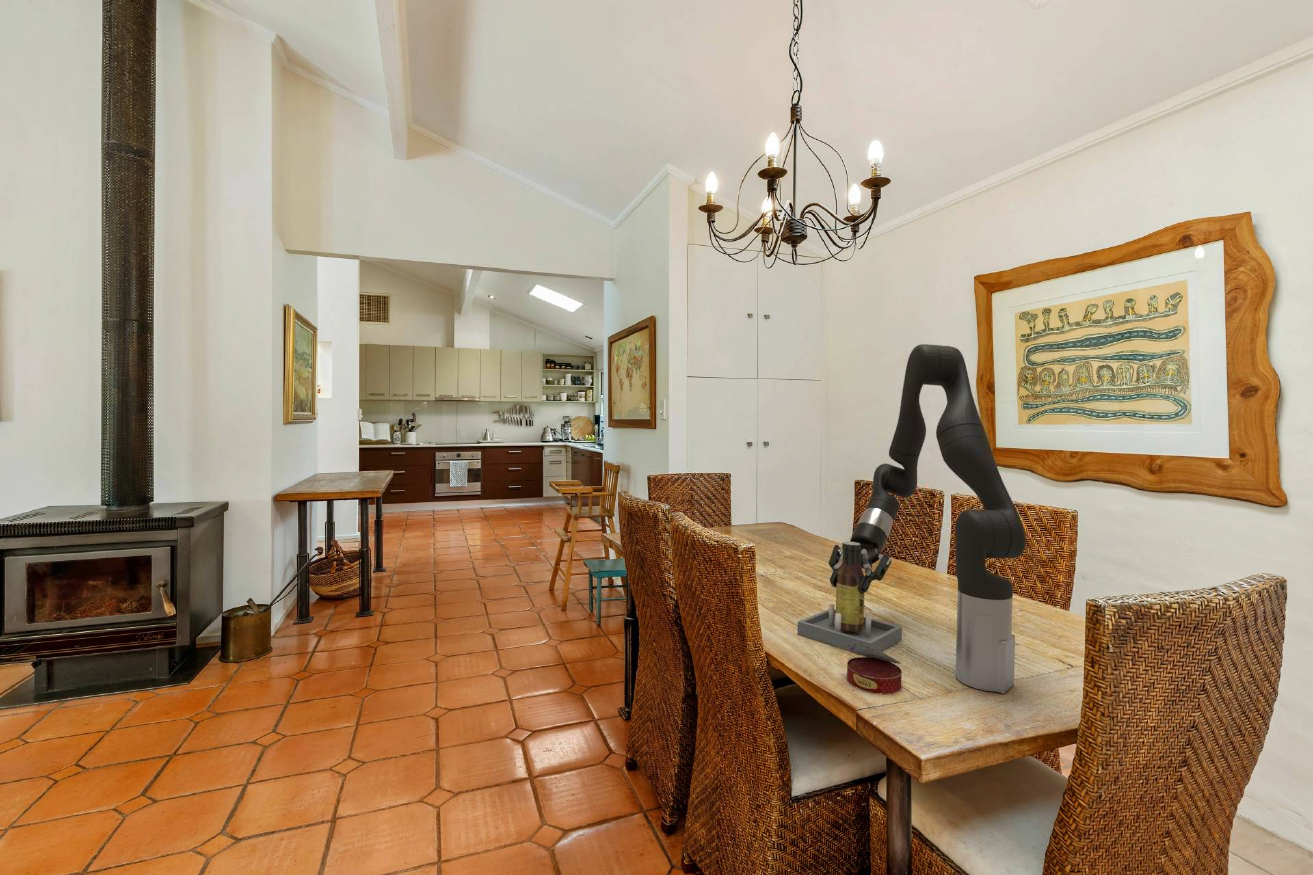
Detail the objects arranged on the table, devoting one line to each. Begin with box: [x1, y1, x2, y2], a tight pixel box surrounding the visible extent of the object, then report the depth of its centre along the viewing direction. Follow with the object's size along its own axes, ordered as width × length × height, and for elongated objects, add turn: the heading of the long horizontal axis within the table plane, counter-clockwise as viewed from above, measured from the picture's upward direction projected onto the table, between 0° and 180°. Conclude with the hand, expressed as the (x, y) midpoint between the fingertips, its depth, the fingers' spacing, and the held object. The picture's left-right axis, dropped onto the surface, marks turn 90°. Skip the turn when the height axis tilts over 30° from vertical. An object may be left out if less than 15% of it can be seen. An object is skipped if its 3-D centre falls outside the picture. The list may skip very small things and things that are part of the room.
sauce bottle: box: [835, 541, 866, 632], centre depth 134 cm, size 6×6×20 cm
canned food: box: [846, 642, 903, 695], centre depth 111 cm, size 11×10×10 cm
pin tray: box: [797, 603, 903, 652], centre depth 134 cm, size 18×15×6 cm
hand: (846, 588), depth 133 cm, fingers open, 6 cm apart
